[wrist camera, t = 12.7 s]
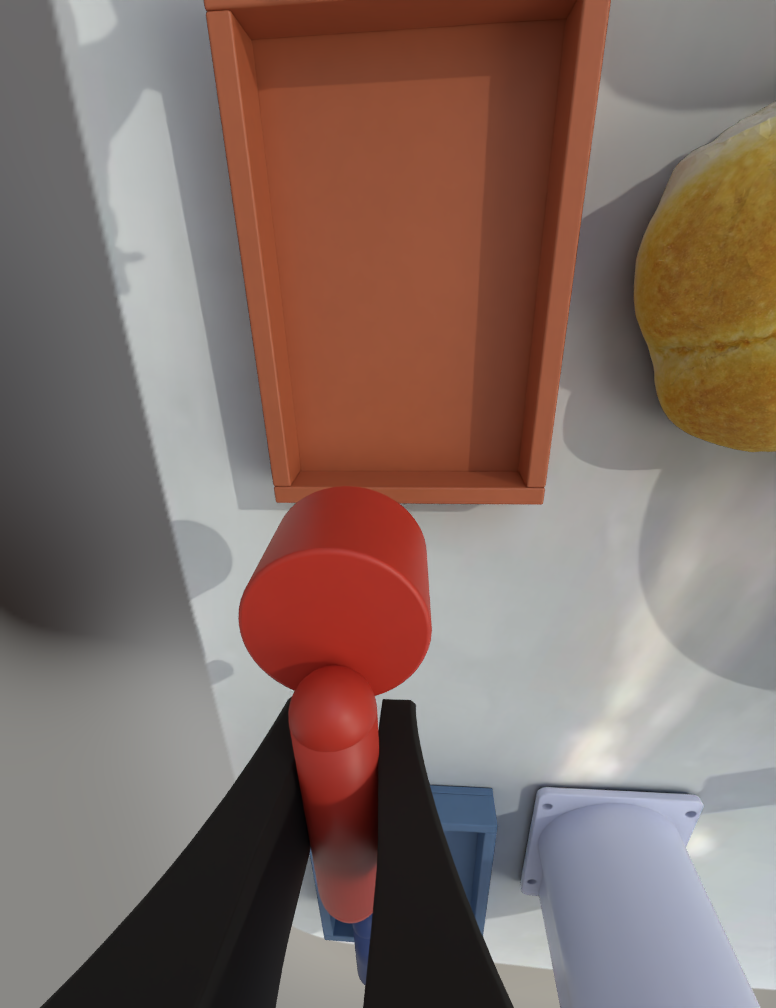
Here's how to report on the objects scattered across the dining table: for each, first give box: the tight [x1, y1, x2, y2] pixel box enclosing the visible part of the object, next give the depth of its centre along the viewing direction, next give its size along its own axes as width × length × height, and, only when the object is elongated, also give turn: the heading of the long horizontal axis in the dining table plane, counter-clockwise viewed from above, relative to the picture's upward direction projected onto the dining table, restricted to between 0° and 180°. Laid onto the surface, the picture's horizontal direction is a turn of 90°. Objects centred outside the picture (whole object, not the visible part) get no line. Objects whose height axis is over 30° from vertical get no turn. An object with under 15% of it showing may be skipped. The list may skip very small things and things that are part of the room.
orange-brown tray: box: [204, 0, 611, 504], centre depth 13 cm, size 13×9×2 cm
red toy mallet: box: [239, 486, 432, 923], centre depth 10 cm, size 9×3×4 cm, turn 2°
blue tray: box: [310, 785, 497, 942], centre depth 26 cm, size 13×10×2 cm
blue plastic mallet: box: [352, 914, 372, 985], centre depth 25 cm, size 9×3×4 cm, turn 1°
